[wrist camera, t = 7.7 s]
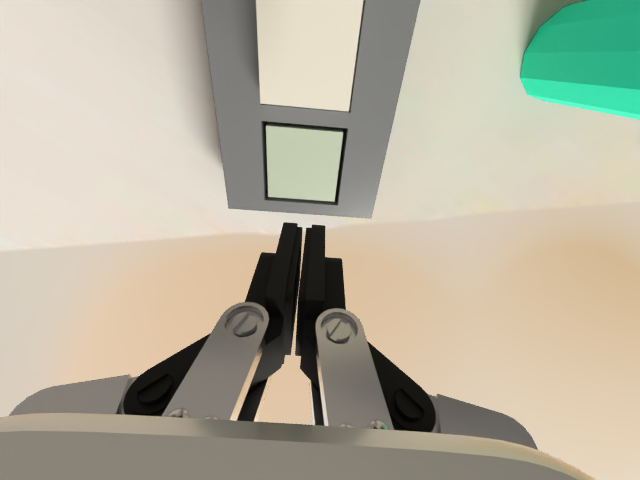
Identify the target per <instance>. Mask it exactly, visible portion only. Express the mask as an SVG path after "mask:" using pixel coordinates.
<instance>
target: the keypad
mask: <svg viewBox="0 0 640 480" xmlns="http://www.w3.org/2000/svg"><path fill="white" fill-rule="evenodd" d="M201 4H202V11H203V19H204V26H205V34H206V41H207V49H208V57H209V64H210V72H211V79H212V87H213V94H214V102H215V110H216V117H217V125H218V132H219V140H220V147H221V155H222V163H223V170H224V178H225V185H226V193H227V200H228V208H229V209H243V210H258V211H272V212H286V213H300V214H314V215H329V216H343V217H357V218H372V213H373V209H374V204H375V200H376V195H377V191H378V186H379V182H380V178H381V173H382V169H383V164H384V160H385V155H386V151H387V146H388V142H389V137H390V133H391V129H392V124H393V120H394V115H395V111H396V106H397V102H398V97H399V93H400V88H401V84H402V80H403V75H404V71H405V66H406V62H407V57H408V53H409V48H410V44H411V40H412V35H413V31H414V26H415V22H416V17H417V13H418V8H419V4H420V0H363V8H362V15H361V23H360V31H359V38H358V46H357V53H356V61H355V68H354V76H353V83H352V91H351V99H350V106H349V112H348V111H337V110H326V109H315V108H304V107H293V106H282V105H271V104H260V83H259V60H258V37H257V13H256V0H201ZM268 122H280V123H291V124H303V125H314V126H325V127H337V128H342V130H343V139H342V146H341V154H340V162H339V170H338V178H337V186H336V194H335V202H333V201H319V200H305V199H292V198H278V197H268V175H267V145H266V125H267V124H268Z"/></svg>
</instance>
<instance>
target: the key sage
mask: <svg viewBox="0 0 640 480" xmlns="http://www.w3.org/2000/svg"><path fill="white" fill-rule="evenodd" d="M342 139H343V130H342V128H337V127H325V126H314V125H303V124H291V123H280V122H268V124H267V125H266V145H267V175H268V197H278V198H292V199H305V200H319V201H333V202H335V194H336V186H337V178H338V170H339V162H340V154H341V146H342Z"/></svg>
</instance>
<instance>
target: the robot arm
mask: <svg viewBox="0 0 640 480" xmlns="http://www.w3.org/2000/svg"><path fill="white" fill-rule="evenodd" d="M301 245H302V227H297V223H285V222H284V224H283V228H282V231H281V235H280V239H279V243H278V247H277V251H276V253H263V252H262V253H261V255H260V258H259V261H258V264H257V267H256V270H255V273H254V276H253V279H252V282H251V285H250V288H249V291H248V294H247V297H246V300H245V302H243V303H238V304H236V305H233V306H231V307H230V308H229V309H227V310H226V311H225V312H224V314H223V315H222V316H221V317H220V319H219V321H218V322H217V324H216V326H215V328H214V329H213V331H212V332H211V333H210V334H209V335H207V336H205V337H203V338H202V339H200V340H198V341H197V342H195V343H193V344H191V345H190V346H188V347H186V348H184V349H183V350H181V351H179V352H178V353H176V354H174V355H173V356H171V357H169V358H167V359H166V360H164V361H162V362H161V363H159V364H157V365H155V366H154V367H152V368H150V369H148V370H147V371H146V372H144V373H143V374H141V375H140V376H139V377H133V378H132V377H131V376H130V375H124V376H117V377H111V378H105V379H98V380H92V381H85V382H79V383H73V384H66V385H60V386H53V387H50V388H46V389H43V390H40V391H39V392H37V393H35V394H33V395H31V396H29V397H28V398H26V399H25V400H24V401H23V402H21V403H20V404H19V405H18V406H16V408H15V409H14V410H13V411H12V412H11V414H10V415H9V416H7V417H1V418H0V480H596V479H595V478H593V477H591V476H590V475H588V474H587V473H585V472H583V471H582V470H580V469H578V468H576V467H574V466H572V465H570V464H568V463H566V462H564V461H563V460H561V459H559V458H556V457H554V456H551V455H549V454H547V453H544V452H542V451H539V450H538V449H537V447H536V445H535V443H534V441H533V438H532V437H531V435H530V434H529V433H528V432H527V430H526V429H525V428H524V427H523V426H522V425H521V424H520V423H518V422H517V421H516V420H515V419H513V418H511V417H509V416H507V415H505V414H502V413H499V412H496V411H492V410H489V409H486V408H483V407H479V406H475V405H473V404H469V403H466V402H463V401H459V400H456V399H453V398H449V397H446V396H443V395H440V394H437V395H436V396H432V395H428V394H427V393H426V392H425V391H424V390H423V389H422V388H421V387H420V386H419V385H418V384H416V383H415V382H414V381H413V380H412V379H411V378H410V377H408V376H407V375H406V374H405V373H404V372H403V371H401V370H400V369H399V368H398V367H397V366H396V365H394V364H393V363H392V362H391V361H390V360H389V359H387V358H386V357H385V356H384V355H383V354H382V353H380V352H379V351H378V350H377V349H376V348H375V347H373V346H372V345H371V344H370V343H369V342H368V341H367V339H366V336H365V333H364V329H363V326H362V324H361V322H360V320H359V319H358V318H357V317H356V316H355V315H354V314H353V313H351V312H350V311H347V310H346V307H345V294H344V281H343V268H342V259H340V258H327V257H325V226H322V225H312V228H306V236H305V244H304V253H303V262H302V270H301V278H300V264H301ZM299 281H300V287H299ZM298 290H299V296H298ZM297 298H298V311H297V312H298V313H297V332H296V351H295V355H296V356H301V365H300V369H301V370H302V371H303V372H304V373H305V375H306V376H307V377H308V378H309V386H310V398H311V409H312V420H313V425H302V424H284V423H268V422H257V421H258V418H259V415H260V412H261V409H262V406H263V402H264V400H265V396H266V393H267V390H268V387H269V384H270V380H271V375H272V374H273V373H275V372H276V371H277V370H278V369H280V368H281V366H282V364H284V357H285V355H291V347H292V340H293V331H294V323H295V314H296V305H297Z"/></svg>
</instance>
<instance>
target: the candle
mask: <svg viewBox="0 0 640 480" xmlns="http://www.w3.org/2000/svg"><path fill="white" fill-rule="evenodd" d="M520 79H521V81H522V83H523V86H524V88H525V90H526V93H527V95H530V96H533V97H535V98H538V99H540V100H543V101H547V102H552V103H557V104H563V105H568V106H573V107H578V108H583V109H588V110H593V111H598V112H603V113H609V114H614V115H619V116H624V117H629V118H634V119H639V120H640V0H586V1H582V2H579V3H575V4H571V5H568V6H564V7H563V8H562V9H561V10H560V11H558V12H557V13H556V14H555V15H554V16H552V17H551V18H550V19H549V20H548V21H546V22H545V23H544V24H543V25H542V26H540V28H539V29H538V31H537V33H536V34H535V36H534V38H533V39H532V41H531V43H530V44H529V46H528V48H527V49H526V51H525V52H524V57H523V63H522V68H521V74H520Z"/></svg>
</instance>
